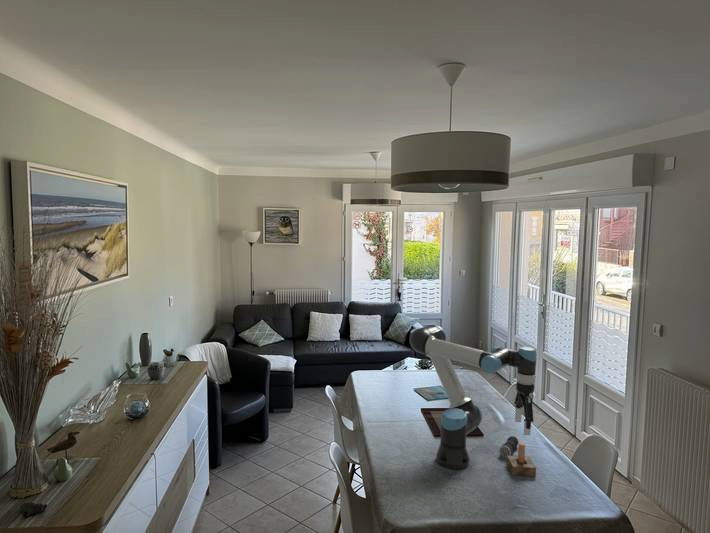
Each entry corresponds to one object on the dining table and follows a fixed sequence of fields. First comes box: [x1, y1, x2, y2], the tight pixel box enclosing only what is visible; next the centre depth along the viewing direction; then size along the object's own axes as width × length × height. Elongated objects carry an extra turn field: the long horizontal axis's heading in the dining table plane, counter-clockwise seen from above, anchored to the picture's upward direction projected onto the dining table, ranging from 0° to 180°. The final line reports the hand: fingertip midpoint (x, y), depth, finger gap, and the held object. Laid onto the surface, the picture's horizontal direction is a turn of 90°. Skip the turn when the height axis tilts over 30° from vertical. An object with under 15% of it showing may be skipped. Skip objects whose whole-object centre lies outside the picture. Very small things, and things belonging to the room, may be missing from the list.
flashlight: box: [499, 435, 519, 459], centre depth 232 cm, size 15×5×5 cm, turn 147°
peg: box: [517, 442, 526, 464], centre depth 214 cm, size 3×3×12 cm
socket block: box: [506, 455, 537, 477], centre depth 214 cm, size 10×10×4 cm
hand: (522, 428), depth 213 cm, fingers open, 13 cm apart
